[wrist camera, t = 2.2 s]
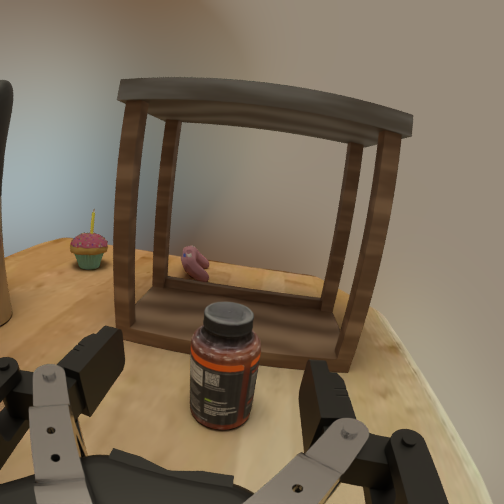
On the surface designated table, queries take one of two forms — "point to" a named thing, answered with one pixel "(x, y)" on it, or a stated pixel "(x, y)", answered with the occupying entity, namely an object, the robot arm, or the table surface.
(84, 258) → the cupcake
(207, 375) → the supplement bottle
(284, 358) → the under-counter shelf
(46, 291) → the table surface
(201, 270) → the video game controller
